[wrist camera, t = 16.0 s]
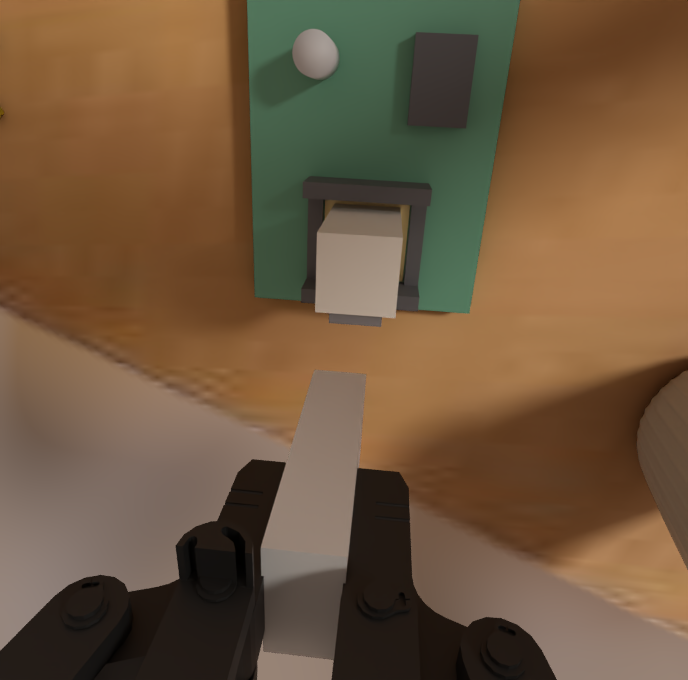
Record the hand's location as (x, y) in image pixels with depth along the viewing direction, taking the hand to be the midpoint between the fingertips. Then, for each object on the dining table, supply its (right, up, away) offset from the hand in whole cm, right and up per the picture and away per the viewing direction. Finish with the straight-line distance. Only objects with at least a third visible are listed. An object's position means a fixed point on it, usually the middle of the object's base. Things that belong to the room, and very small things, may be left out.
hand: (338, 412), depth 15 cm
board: (+2, +14, +20) cm, 25 cm away
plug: (+2, +9, +21) cm, 23 cm away
